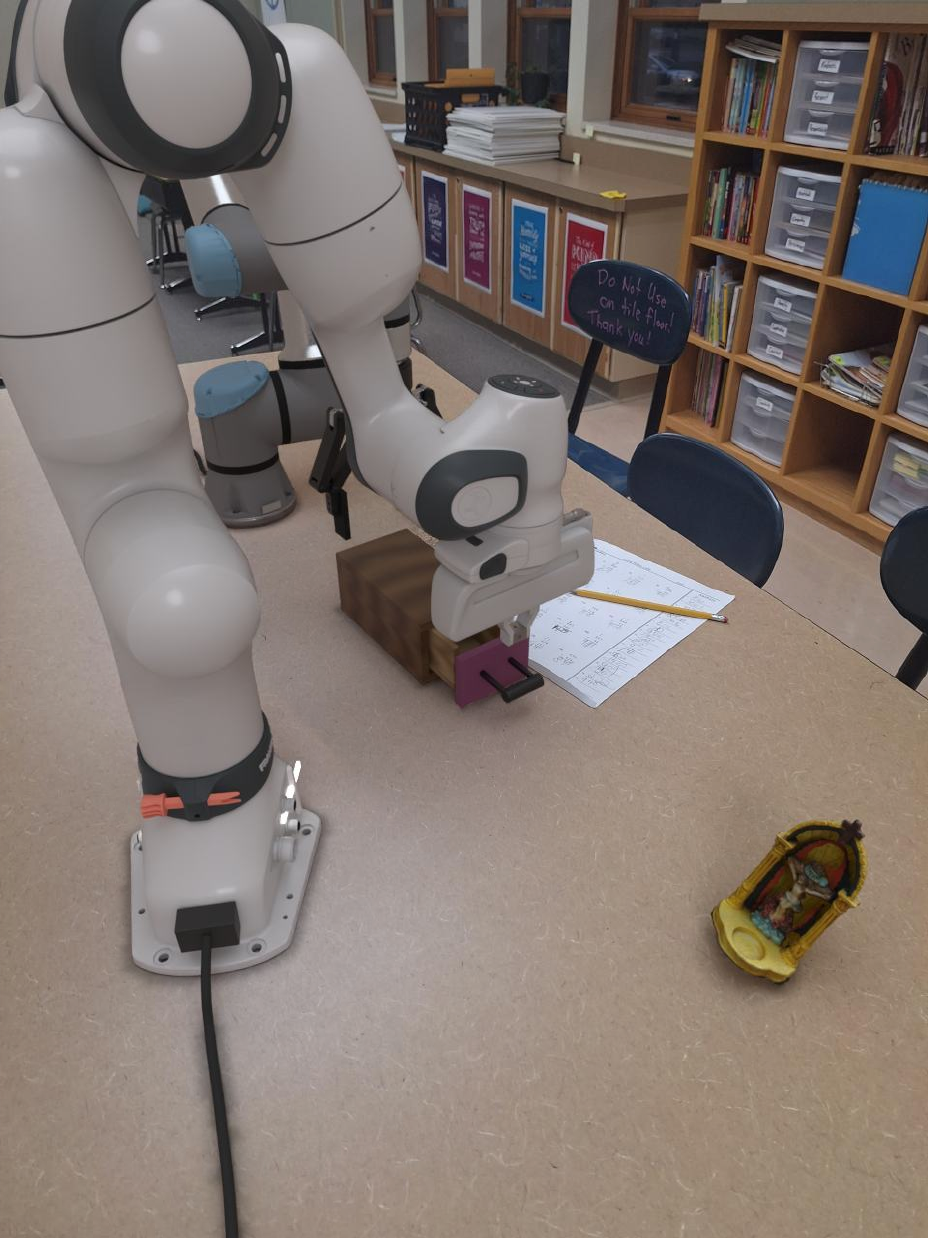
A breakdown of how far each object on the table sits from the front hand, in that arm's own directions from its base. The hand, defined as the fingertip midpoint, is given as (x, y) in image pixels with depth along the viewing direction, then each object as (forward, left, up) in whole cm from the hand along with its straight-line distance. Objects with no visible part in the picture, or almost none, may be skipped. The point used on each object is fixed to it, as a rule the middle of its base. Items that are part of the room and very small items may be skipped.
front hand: (514, 639), depth 97 cm
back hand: (+23, +13, +4) cm, 26 cm away
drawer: (+8, +5, -10) cm, 14 cm away
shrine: (-34, -17, -11) cm, 40 cm away
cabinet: (+18, +10, -11) cm, 23 cm away
